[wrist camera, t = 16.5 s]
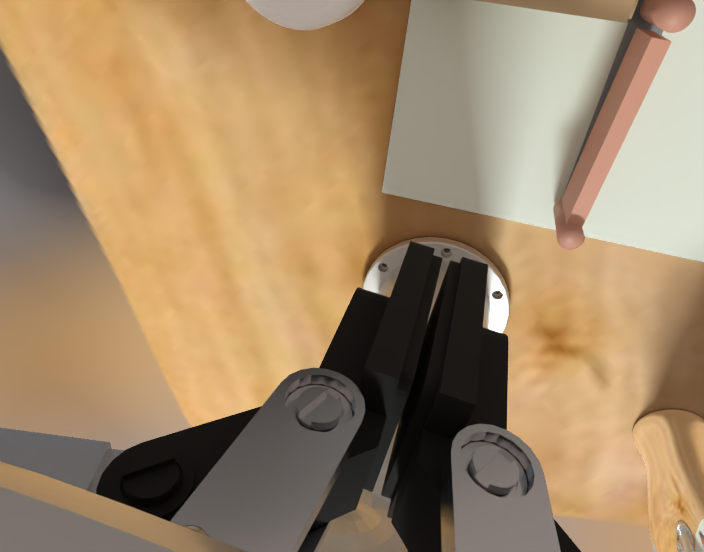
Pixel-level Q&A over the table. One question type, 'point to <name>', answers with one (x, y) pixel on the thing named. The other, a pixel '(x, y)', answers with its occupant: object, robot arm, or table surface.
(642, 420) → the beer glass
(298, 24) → the white short round cylinder
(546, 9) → the fixed panel
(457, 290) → the robot arm
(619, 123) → the panel
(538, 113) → the board
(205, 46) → the table surface
